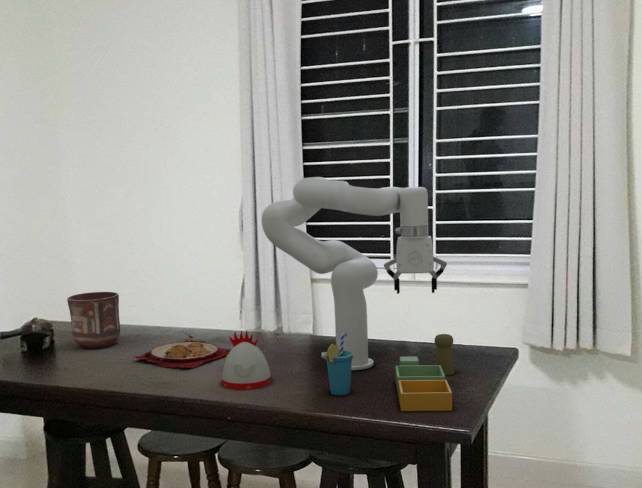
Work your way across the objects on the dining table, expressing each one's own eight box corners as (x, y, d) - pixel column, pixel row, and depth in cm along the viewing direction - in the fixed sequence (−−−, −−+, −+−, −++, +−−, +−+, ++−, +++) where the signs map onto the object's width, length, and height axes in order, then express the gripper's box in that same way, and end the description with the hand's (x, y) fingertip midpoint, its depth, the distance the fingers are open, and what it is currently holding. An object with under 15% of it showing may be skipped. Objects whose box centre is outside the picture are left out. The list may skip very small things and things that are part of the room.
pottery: (82, 339, 283) (78, 292, 280) (128, 338, 280) (124, 290, 277) (64, 351, 265) (59, 301, 262) (112, 350, 263) (108, 299, 260)
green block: (400, 378, 213) (400, 361, 212) (399, 373, 218) (399, 356, 217) (419, 378, 212) (418, 360, 212) (417, 373, 217) (417, 356, 216)
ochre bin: (401, 411, 186) (400, 393, 185) (398, 397, 197) (398, 380, 196) (452, 410, 184) (452, 392, 183) (446, 396, 195) (446, 379, 194)
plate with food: (132, 362, 247) (131, 351, 246) (187, 343, 267) (186, 333, 266) (185, 372, 232) (184, 361, 232) (239, 351, 252) (238, 341, 251)
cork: (455, 375, 213) (455, 337, 211) (433, 375, 215) (433, 337, 213) (454, 369, 219) (454, 332, 217) (433, 369, 220) (432, 332, 218)
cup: (333, 383, 212) (331, 330, 209) (361, 384, 209) (359, 331, 206) (319, 398, 199) (317, 342, 196) (348, 400, 196) (346, 343, 194)
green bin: (397, 393, 199) (397, 377, 199) (395, 381, 210) (395, 365, 210) (445, 393, 198) (445, 376, 197) (440, 380, 209) (440, 365, 208)
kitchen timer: (224, 376, 224) (221, 326, 222) (271, 374, 224) (268, 324, 221) (220, 390, 211) (217, 337, 208) (270, 388, 210) (267, 335, 207)
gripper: (382, 234, 209) (383, 295, 212) (446, 232, 206) (447, 294, 209) (383, 231, 217) (385, 291, 219) (445, 229, 213) (446, 289, 216)
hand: (415, 292), depth 214 cm, fingers open, 9 cm apart
